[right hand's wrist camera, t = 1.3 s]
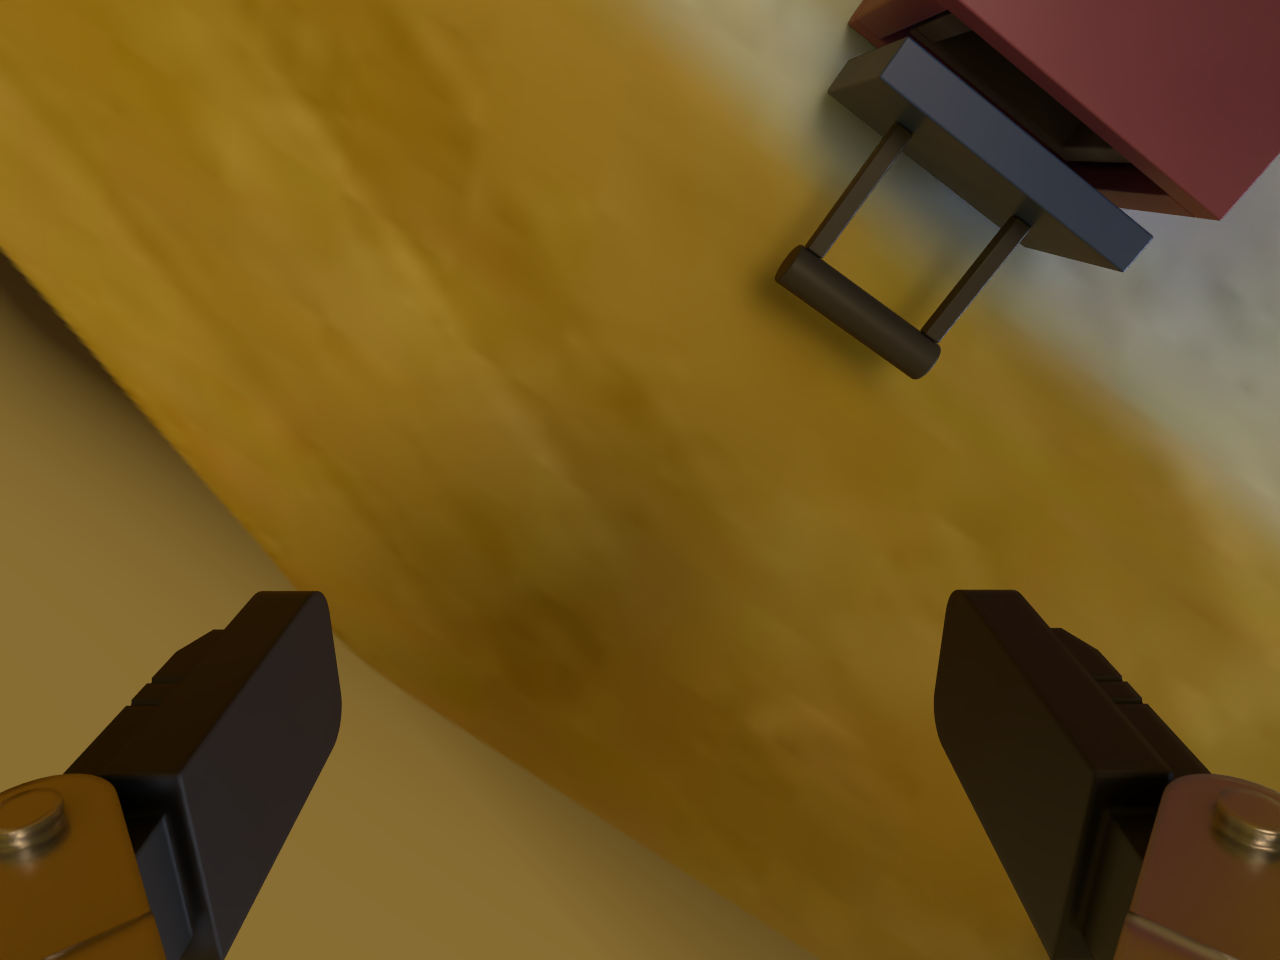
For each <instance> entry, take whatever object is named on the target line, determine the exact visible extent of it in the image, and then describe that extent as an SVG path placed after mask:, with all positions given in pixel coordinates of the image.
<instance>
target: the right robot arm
mask: <svg viewBox="0 0 1280 960" xmlns="http://www.w3.org/2000/svg"><path fill="white" fill-rule="evenodd" d="M341 709H342V701H341V691H340V684H339V676H338V669H337V662H336V655H335V648H334V641H333V634H332V627H331V620H330V613H329V608H328V604H327V601H326V598H325V596H324V595H323V594H322V593H321V592H319V591H260V592H258V593H256V594H255V595H254V596H253V597H252V598H251V599H250V600H249V602H248V603H247V604H246V605H245V606H244V607H243V609H242V610H241V611H240V612H239V613H238V614H237V615H236V617H235V618H234V619H233V620H232V621H231V622H230V624H229V625H228V626H227V627H226V628H225V629H224V630H212V631H210V632H209V633H207V634H205V635H204V636H202V637H200V638H199V639H197V640H195V641H194V642H192V643H190V644H189V645H187V646H185V647H184V648H182V649H180V650H179V651H177V652H176V653H175V654H174V655H173V656H172V657H171V658H170V659H169V660H168V661H167V662H166V663H165V665H164V666H163V667H162V668H161V669H160V670H159V671H158V672H157V673H156V674H155V675H154V676H153V677H152V683H147V684H146V685H145V686H144V687H143V688H142V689H141V690H140V692H139V693H138V694H137V695H136V696H135V697H134V698H133V699H132V703H131V706H126V707H125V708H124V709H123V710H122V711H121V712H120V713H119V714H118V715H117V716H116V717H115V718H114V720H113V721H112V722H111V723H110V724H109V725H108V726H107V727H106V728H105V729H104V730H103V731H102V733H101V734H100V735H99V736H98V737H97V738H96V739H95V740H94V741H93V742H92V743H91V744H90V745H89V747H88V748H87V749H86V750H85V751H84V752H83V753H82V754H81V755H80V756H79V757H78V758H77V759H76V761H75V762H74V763H73V764H72V765H71V766H70V767H69V768H68V769H67V770H66V771H65V773H64V774H62V775H55V776H49V777H45V778H40V779H36V780H33V781H30V782H26V783H23V784H20V785H18V786H15V787H13V788H10V789H8V790H5V791H3V792H1V793H0V960H224V959H225V957H226V955H227V953H228V951H229V949H230V947H231V945H232V943H233V941H234V939H235V938H236V936H237V934H238V932H239V930H240V928H241V926H242V924H243V922H244V920H245V918H246V916H247V914H248V912H249V910H250V908H251V906H252V904H253V903H254V901H255V899H256V897H257V895H258V893H259V891H260V889H261V887H262V885H263V883H264V881H265V879H266V877H267V875H268V873H269V871H270V870H271V868H272V866H273V864H274V862H275V860H276V858H277V856H278V854H279V852H280V850H281V848H282V846H283V844H284V842H285V840H286V838H287V836H288V835H289V833H290V831H291V829H292V827H293V825H294V823H295V821H296V819H297V817H298V815H299V813H300V811H301V809H302V807H303V805H304V803H305V801H306V800H307V798H308V796H309V794H310V792H311V790H312V788H313V786H314V784H315V782H316V780H317V778H318V776H319V774H320V772H321V770H322V768H323V767H324V764H325V763H326V761H327V759H328V757H329V755H330V753H331V751H332V749H333V747H334V745H335V742H336V739H337V736H338V732H339V727H340V721H341ZM934 715H935V723H936V728H937V733H938V736H939V739H940V742H941V744H942V747H943V749H944V750H945V752H946V754H947V756H948V758H949V760H950V762H951V764H952V766H953V768H954V770H955V772H956V774H957V776H958V778H959V780H960V782H961V784H962V786H963V788H964V790H965V792H966V794H967V796H968V798H969V800H970V802H971V804H972V806H973V808H974V810H975V811H976V813H977V815H978V817H979V819H980V821H981V823H982V825H983V827H984V829H985V831H986V833H987V835H988V837H989V839H990V841H991V843H992V845H993V847H994V849H995V851H996V853H997V855H998V857H999V859H1000V861H1001V863H1002V865H1003V867H1004V869H1005V870H1006V872H1007V874H1008V876H1009V878H1010V880H1011V882H1012V884H1013V886H1014V888H1015V890H1016V892H1017V894H1018V896H1019V898H1020V900H1021V902H1022V904H1023V906H1024V908H1025V910H1026V912H1027V914H1028V916H1029V918H1030V920H1031V922H1032V924H1033V926H1034V928H1035V930H1036V931H1037V933H1038V935H1039V937H1040V939H1041V941H1042V943H1043V945H1044V947H1045V949H1046V951H1047V953H1048V955H1049V957H1050V959H1051V960H1280V793H1279V792H1277V791H1275V790H1273V789H1270V788H1267V787H1265V786H1262V785H1260V784H1257V783H1254V782H1250V781H1247V780H1244V779H1240V778H1235V777H1231V776H1225V775H1218V774H1211V773H1210V772H1209V770H1208V769H1207V768H1206V767H1205V766H1204V765H1203V764H1202V763H1201V762H1200V761H1199V760H1198V758H1197V757H1196V756H1195V755H1194V754H1193V753H1192V752H1191V751H1190V750H1189V749H1188V748H1187V746H1186V745H1185V744H1184V743H1183V742H1182V741H1181V740H1180V739H1179V738H1178V737H1177V736H1176V735H1175V733H1174V732H1173V731H1172V730H1171V729H1170V728H1169V727H1168V726H1167V725H1166V724H1165V723H1164V721H1163V720H1162V719H1161V718H1160V717H1159V716H1158V715H1157V714H1156V713H1155V712H1154V711H1153V709H1152V708H1151V707H1150V706H1149V705H1148V704H1143V703H1142V697H1141V696H1140V695H1139V694H1138V693H1137V692H1136V691H1135V690H1134V689H1133V688H1132V687H1131V686H1130V684H1129V683H1128V682H1123V681H1122V676H1121V675H1120V674H1119V672H1118V671H1117V670H1116V669H1115V668H1114V667H1113V666H1112V665H1111V664H1110V663H1109V662H1108V660H1107V659H1106V658H1105V657H1104V656H1103V655H1102V654H1101V653H1100V652H1099V651H1098V650H1097V649H1095V648H1093V647H1092V646H1090V645H1089V644H1087V643H1085V642H1084V641H1082V640H1080V639H1079V638H1077V637H1075V636H1074V635H1072V634H1070V633H1069V632H1067V631H1065V630H1064V629H1062V628H1050V627H1049V626H1048V625H1047V624H1046V623H1045V621H1044V620H1043V619H1042V618H1041V617H1040V616H1039V614H1038V613H1037V612H1036V611H1035V610H1034V609H1033V607H1032V606H1031V605H1030V604H1029V603H1028V602H1027V601H1026V599H1025V598H1024V597H1023V596H1022V595H1021V594H1020V593H1019V592H1018V591H1016V590H955V591H954V592H953V593H952V594H951V595H950V598H949V600H948V603H947V608H946V614H945V621H944V628H943V636H942V643H941V650H940V657H939V664H938V671H937V678H936V685H935V693H934Z"/></svg>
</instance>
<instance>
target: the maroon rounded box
mask: <svg viewBox="0 0 1280 960" xmlns="http://www.w3.org/2000/svg"><path fill="white" fill-rule="evenodd" d="M947 9H948V10H949V11H950V12H951V13H952V14H954V15H955V16H956V17H957V18H958V19H960V20H961V21H962V22H963V23H964V24H966V25H967V26H968V27H969V28H970V29H972V30H973V31H974V32H975V33H976V34H978V35H979V36H980V37H981V38H982V39H984V40H985V41H986V42H987V43H988V44H990V45H991V46H992V47H993V48H994V49H995V50H997V51H998V52H999V53H1000V54H1001V55H1003V56H1004V57H1005V58H1006V59H1007V60H1009V61H1010V62H1011V63H1012V64H1013V65H1015V66H1016V67H1017V68H1018V69H1019V70H1021V71H1022V72H1023V73H1024V74H1025V75H1027V76H1028V77H1029V78H1030V79H1031V80H1033V81H1034V82H1035V83H1036V84H1037V85H1039V86H1040V87H1041V88H1042V89H1043V90H1045V91H1046V92H1047V93H1048V94H1049V95H1050V96H1052V97H1053V98H1054V99H1055V100H1056V101H1058V102H1059V103H1060V104H1061V105H1062V106H1064V107H1065V108H1066V109H1067V110H1068V111H1070V112H1071V113H1072V114H1073V115H1074V116H1076V117H1077V118H1078V119H1079V120H1080V121H1082V122H1083V123H1084V124H1085V125H1086V126H1088V127H1089V128H1090V129H1091V130H1092V131H1094V132H1095V133H1096V134H1097V135H1098V136H1099V137H1101V138H1102V139H1103V140H1104V141H1105V142H1107V143H1108V144H1109V145H1110V146H1111V147H1113V148H1114V149H1115V150H1116V151H1117V152H1119V153H1120V154H1121V155H1122V156H1123V157H1125V158H1126V159H1127V160H1128V161H1129V162H1131V163H1119V162H1089V161H1066V160H1064V159H1063V158H1062V157H1061V156H1060V155H1058V154H1057V153H1056V152H1055V151H1053V150H1052V149H1051V148H1050V147H1049V146H1047V145H1046V144H1045V143H1044V142H1042V141H1041V140H1040V139H1039V138H1038V137H1036V136H1035V135H1034V134H1033V133H1031V132H1030V131H1029V130H1028V129H1027V128H1025V127H1024V126H1023V125H1022V124H1020V123H1019V122H1018V121H1017V120H1016V119H1014V118H1013V117H1012V116H1011V115H1010V114H1008V113H1007V112H1006V111H1005V110H1003V109H1002V108H1001V107H1000V106H999V105H997V104H996V103H995V102H994V101H992V100H991V99H990V98H989V97H988V96H986V95H985V94H984V93H983V92H981V91H980V90H979V89H978V88H977V87H975V86H974V85H973V84H972V83H970V82H969V81H968V80H967V79H966V78H964V77H963V76H962V75H961V74H959V73H958V72H957V71H956V70H955V69H953V68H952V67H951V66H950V65H949V64H947V63H946V62H945V61H944V60H942V59H941V58H940V57H939V56H938V55H936V54H935V53H934V52H933V51H931V50H930V49H929V48H928V47H927V46H925V45H924V44H923V43H922V42H920V41H919V40H918V39H917V38H916V37H914V36H913V35H912V34H911V33H910V32H909V30H910V28H911V27H912V25H914V24H916V23H918V22H920V21H923V20H925V19H927V18H930V17H932V16H934V15H936V14H939V13H941V12H943V11H946V10H947ZM849 25H850V26H851V27H852V28H854V29H855V30H856V31H857V32H859V33H860V34H861V35H862V36H864V37H865V38H866V39H867V40H869V41H870V42H871V43H872V44H874V45H875V46H876V47H877V48H881V47H883V46H886V45H888V44H890V43H893V42H895V41H898V40H900V39H903V38H905V37H910V38H912V39H913V40H914V41H915V42H916V43H918V44H919V45H920V46H921V47H923V48H924V49H925V50H926V51H927V52H929V53H930V54H931V55H932V56H934V57H935V58H936V59H937V60H938V61H940V62H941V63H942V64H943V65H945V66H946V67H947V68H948V69H949V70H951V71H952V72H953V73H954V74H956V75H957V76H958V77H959V78H960V79H962V80H963V81H964V82H965V83H967V84H968V85H969V86H970V87H971V88H973V89H974V90H975V91H976V92H978V93H979V94H980V95H981V96H982V97H984V98H985V99H986V100H987V101H989V102H990V103H991V104H992V105H993V106H995V107H996V108H997V109H998V110H1000V111H1001V112H1002V113H1003V114H1004V115H1006V116H1007V117H1008V118H1009V119H1011V120H1012V121H1013V122H1014V123H1015V124H1017V125H1018V126H1019V127H1020V128H1022V129H1023V130H1024V131H1025V132H1026V133H1028V134H1029V135H1030V136H1031V137H1033V138H1034V139H1035V140H1036V141H1037V142H1039V143H1040V144H1041V145H1042V146H1044V147H1045V148H1046V149H1047V150H1048V151H1050V152H1051V153H1052V154H1053V155H1055V156H1056V157H1057V158H1058V159H1059V160H1061V161H1062V162H1063V163H1064V164H1066V165H1067V166H1068V167H1069V168H1070V169H1072V170H1073V171H1074V172H1075V173H1077V174H1078V175H1079V176H1080V177H1081V178H1083V179H1084V180H1085V181H1086V182H1088V183H1089V184H1090V185H1091V186H1092V187H1094V188H1095V189H1096V190H1097V191H1099V192H1100V193H1101V194H1102V195H1103V196H1105V197H1106V198H1107V199H1108V200H1110V201H1111V202H1112V203H1113V204H1114V205H1116V206H1117V207H1118V208H1125V209H1133V210H1141V211H1149V212H1156V213H1164V214H1172V215H1180V216H1188V217H1197V218H1203V219H1211V220H1219V221H1220V220H1222V219H1223V218H1224V216H1225V215H1226V214H1227V213H1228V212H1229V211H1230V210H1231V208H1232V207H1233V206H1234V205H1235V204H1236V203H1237V202H1238V200H1239V199H1240V198H1241V197H1242V196H1243V195H1244V194H1245V193H1246V191H1247V190H1248V189H1249V188H1250V187H1251V186H1252V185H1253V183H1254V182H1255V181H1256V180H1257V179H1258V178H1259V177H1260V175H1261V174H1262V173H1263V172H1264V171H1265V170H1266V169H1267V167H1268V166H1269V165H1270V164H1271V163H1272V162H1273V161H1274V159H1275V158H1276V157H1277V156H1278V155H1279V154H1280V0H863V1H862V3H861V4H860V5H859V7H858V8H857V10H856V11H855V13H854V14H853V16H852V17H851V19H850V20H849Z"/></svg>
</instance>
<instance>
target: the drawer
mask: <svg viewBox="0 0 1280 960" xmlns="http://www.w3.org/2000/svg"><path fill="white" fill-rule="evenodd" d="M909 32H910V33H911V34H912V35H913V36H914V37H916V38H917V39H918V40H919V41H920V42H922V43H923V44H924V45H925V46H927V47H928V48H929V49H930V50H931V51H933V52H934V53H935V54H936V55H938V56H939V57H940V58H941V59H942V60H944V61H945V62H946V63H947V64H949V65H950V66H951V67H952V68H953V69H955V70H956V71H957V72H958V73H959V74H961V75H962V76H963V77H964V78H966V79H967V80H968V81H969V82H970V83H972V84H973V85H974V86H975V87H977V88H978V89H979V90H980V91H981V92H983V93H984V94H985V95H986V96H988V97H989V98H990V99H991V100H992V101H994V102H995V103H996V104H997V105H999V106H1000V107H1001V108H1002V109H1003V110H1005V111H1006V112H1007V113H1008V114H1010V115H1011V116H1012V117H1013V118H1014V119H1016V120H1017V121H1018V122H1019V123H1020V124H1022V125H1023V126H1024V127H1025V128H1027V129H1028V130H1029V131H1030V132H1031V133H1033V134H1034V135H1035V136H1036V137H1038V138H1039V139H1040V140H1041V141H1042V142H1044V143H1045V144H1046V145H1047V146H1049V147H1050V148H1051V149H1052V150H1053V151H1055V152H1056V153H1057V154H1058V155H1060V156H1061V157H1062V158H1063V159H1064V160H1066V161H1089V162H1119V163H1131V162H1129V161H1128V160H1127V159H1126V158H1125V157H1123V156H1122V155H1121V154H1120V153H1119V152H1117V151H1116V150H1115V149H1114V148H1113V147H1111V146H1110V145H1109V144H1108V143H1107V142H1105V141H1104V140H1103V139H1102V138H1101V137H1099V136H1098V135H1097V134H1096V133H1095V132H1094V131H1092V130H1091V129H1090V128H1089V127H1088V126H1086V125H1085V124H1084V123H1083V122H1082V121H1080V120H1079V119H1078V118H1077V117H1076V116H1074V115H1073V114H1072V113H1071V112H1070V111H1068V110H1067V109H1066V108H1065V107H1064V106H1062V105H1061V104H1060V103H1059V102H1058V101H1056V100H1055V99H1054V98H1053V97H1052V96H1050V95H1049V94H1048V93H1047V92H1046V91H1045V90H1043V89H1042V88H1041V87H1040V86H1039V85H1037V84H1036V83H1035V82H1034V81H1033V80H1031V79H1030V78H1029V77H1028V76H1027V75H1025V74H1024V73H1023V72H1022V71H1021V70H1019V69H1018V68H1017V67H1016V66H1015V65H1013V64H1012V63H1011V62H1010V61H1009V60H1007V59H1006V58H1005V57H1004V56H1003V55H1001V54H1000V53H999V52H998V51H997V50H995V49H994V48H993V47H992V46H991V45H990V44H988V43H987V42H986V41H985V40H984V39H982V38H981V37H980V36H979V35H978V34H976V33H975V32H974V31H973V30H972V29H970V28H969V27H968V26H967V25H966V24H964V23H963V22H962V21H961V20H960V19H958V18H957V17H956V16H955V15H954V14H952V13H951V12H950V11H949V10H948V9H947V10H946V11H943V12H941V13H939V14H936V15H934V16H932V17H930V18H927V19H925V20H923V21H920V22H918V23H916V24H914V25H912V27H911V28H910V30H909ZM828 94H830V95H831V96H832V97H833V98H835V99H836V100H837V101H839V102H840V103H841V104H842V105H844V106H845V107H846V108H848V109H849V110H850V111H851V112H853V113H854V114H855V115H857V116H858V117H859V118H860V119H862V120H863V121H864V122H865V123H867V124H868V125H869V126H871V127H872V128H873V129H874V130H876V131H877V132H878V133H880V134H881V135H882V136H883V139H882V140H881V141H880V143H879V144H878V146H877V147H876V148H875V150H874V151H873V152H872V154H871V155H870V157H869V158H868V159H867V161H866V162H865V164H864V165H863V166H862V168H861V169H860V170H859V172H858V173H857V175H856V176H855V177H854V179H853V180H852V182H851V183H850V184H849V186H848V187H847V188H846V190H845V191H844V193H843V194H842V195H841V197H840V198H839V200H838V201H837V202H836V204H835V205H834V206H833V208H832V209H831V211H830V212H829V213H828V215H827V216H826V218H825V219H824V220H823V222H822V223H821V224H820V226H819V227H818V229H817V230H816V231H815V233H814V234H813V236H812V237H811V238H810V240H809V241H808V242H807V244H806V246H805V247H806V248H805V247H804V246H803V245H798V246H797V247H795V248H794V249H793V250H792V251H791V252H790V253H789V255H788V256H787V257H786V258H785V260H784V261H783V263H782V264H781V266H780V267H779V269H778V271H777V273H776V276H775V280H776V282H777V283H779V284H780V285H782V286H783V287H784V288H786V289H787V290H789V291H790V292H791V293H793V294H794V295H796V296H797V297H798V298H800V299H801V300H803V301H804V302H805V303H807V304H808V305H810V306H811V307H812V308H814V309H815V310H817V311H818V312H819V313H821V314H822V315H824V316H825V317H826V318H828V319H829V320H831V321H832V322H833V323H835V324H836V325H838V326H839V327H840V328H842V329H843V330H845V331H846V332H847V333H849V334H850V335H852V336H853V337H854V338H856V339H857V340H859V341H860V342H861V343H863V344H864V345H866V346H867V347H868V348H870V349H871V350H873V351H874V352H875V353H877V354H878V355H880V356H881V357H882V358H884V359H885V360H887V361H888V362H889V363H891V364H892V365H894V366H895V367H896V368H898V369H899V370H901V371H902V372H903V373H905V374H906V375H908V376H909V377H910V378H912V379H919V378H921V377H922V376H924V375H925V374H926V373H927V372H929V370H930V369H931V368H932V367H933V366H934V364H935V363H936V361H937V360H938V358H939V355H940V352H941V348H940V346H939V345H938V344H937V343H939V342H940V341H941V339H942V338H943V337H944V336H945V335H946V333H947V332H948V331H949V330H950V328H951V327H952V326H953V325H954V323H955V322H956V321H957V320H958V318H959V317H960V316H961V315H962V313H963V312H964V311H965V310H966V308H967V307H968V306H969V305H970V304H971V302H972V301H973V300H974V299H975V297H976V296H977V295H978V294H979V292H980V291H981V290H982V289H983V287H984V286H985V285H986V284H987V282H988V281H989V280H990V279H991V277H992V276H993V275H994V274H995V273H996V271H997V270H998V269H999V268H1000V266H1001V265H1002V264H1003V263H1004V261H1005V260H1006V259H1007V258H1008V256H1009V255H1010V254H1011V253H1012V251H1013V250H1014V249H1015V248H1016V246H1017V245H1018V244H1019V243H1020V244H1022V245H1023V246H1024V247H1027V248H1031V249H1035V250H1039V251H1043V252H1046V253H1050V254H1054V255H1058V256H1062V257H1066V258H1070V259H1074V260H1077V261H1081V262H1085V263H1089V264H1093V265H1097V266H1101V267H1105V268H1108V269H1112V270H1116V271H1120V272H1124V271H1125V270H1126V269H1127V268H1128V267H1129V266H1130V265H1131V263H1132V262H1133V261H1134V260H1135V259H1136V258H1137V256H1138V255H1139V254H1140V253H1141V252H1142V251H1143V249H1144V248H1145V247H1146V246H1147V245H1148V244H1149V242H1150V241H1151V240H1152V239H1153V236H1152V235H1151V234H1150V233H1149V232H1147V231H1146V230H1145V229H1144V228H1143V227H1141V226H1140V225H1139V224H1138V223H1136V222H1135V221H1134V220H1133V219H1132V218H1130V217H1129V216H1128V215H1127V214H1125V213H1124V212H1123V211H1122V210H1121V209H1119V208H1118V207H1117V206H1116V205H1114V204H1113V203H1112V202H1111V201H1110V200H1108V199H1107V198H1106V197H1105V196H1103V195H1102V194H1101V193H1100V192H1099V191H1097V190H1096V189H1095V188H1094V187H1092V186H1091V185H1090V184H1089V183H1088V182H1086V181H1085V180H1084V179H1083V178H1081V177H1080V176H1079V175H1078V174H1077V173H1075V172H1074V171H1073V170H1072V169H1070V168H1069V167H1068V166H1067V165H1066V164H1064V163H1063V162H1062V161H1061V160H1059V159H1058V158H1057V157H1056V156H1055V155H1053V154H1052V153H1051V152H1050V151H1048V150H1047V149H1046V148H1045V147H1044V146H1042V145H1041V144H1040V143H1039V142H1037V141H1036V140H1035V139H1034V138H1033V137H1031V136H1030V135H1029V134H1028V133H1026V132H1025V131H1024V130H1023V129H1022V128H1020V127H1019V126H1018V125H1017V124H1015V123H1014V122H1013V121H1012V120H1011V119H1009V118H1008V117H1007V116H1006V115H1004V114H1003V113H1002V112H1001V111H1000V110H998V109H997V108H996V107H995V106H993V105H992V104H991V103H990V102H989V101H987V100H986V99H985V98H984V97H982V96H981V95H980V94H979V93H978V92H976V91H975V90H974V89H973V88H971V87H970V86H969V85H968V84H967V83H965V82H964V81H963V80H962V79H960V78H959V77H958V76H957V75H956V74H954V73H953V72H952V71H951V70H949V69H948V68H947V67H946V66H945V65H943V64H942V63H941V62H940V61H938V60H937V59H936V58H935V57H934V56H932V55H931V54H930V53H929V52H927V51H926V50H925V49H924V48H923V47H921V46H920V45H919V44H918V43H916V42H915V41H914V40H913V39H912V38H910V37H905V38H903V39H900V40H898V41H895V42H893V43H890V44H888V45H886V46H883V47H881V48H878V49H876V50H873V51H871V52H868V53H866V54H863V55H861V56H858V57H856V58H853V59H851V60H849V61H848V62H847V63H846V65H845V66H844V68H843V69H842V71H841V72H840V73H839V75H838V76H837V78H836V79H835V81H834V82H833V84H832V85H831V87H830V88H829V89H828ZM901 151H903V152H904V153H905V154H906V155H908V156H909V157H910V158H912V159H913V160H914V161H915V162H917V163H918V164H919V165H920V166H922V167H923V168H924V169H926V170H927V171H928V172H929V173H931V174H932V175H933V176H935V177H936V178H937V179H938V180H940V181H941V182H942V183H944V184H945V185H946V186H947V187H949V188H950V189H951V190H952V191H954V192H955V193H956V194H958V195H959V196H960V197H961V198H963V199H964V200H965V201H967V202H968V203H969V204H970V205H972V206H973V207H974V208H975V209H977V210H978V211H979V212H981V213H982V214H983V215H984V216H986V217H987V218H988V219H990V220H991V221H992V222H993V223H995V224H996V225H997V226H999V227H1000V228H1001V229H1000V230H999V232H998V233H997V234H996V235H995V237H994V238H993V239H992V240H991V242H990V243H989V244H988V246H987V247H986V248H985V249H984V251H983V252H982V253H981V254H980V256H979V257H978V258H977V259H976V261H975V262H974V263H973V264H972V266H971V267H970V268H969V269H968V271H967V272H966V273H965V274H964V276H963V277H962V278H961V279H960V281H959V282H958V283H957V285H956V286H955V287H954V288H953V290H952V291H951V292H950V293H949V295H948V296H947V297H946V298H945V300H944V301H943V302H942V303H941V305H940V306H939V307H938V308H937V310H936V311H935V312H934V313H933V315H932V316H931V317H930V319H929V320H928V321H927V322H926V324H925V325H924V326H923V327H922V329H921V332H920V331H919V330H918V329H916V328H915V327H913V326H912V325H911V324H909V323H908V322H907V321H905V320H904V319H903V318H901V317H900V316H898V315H897V314H896V313H894V312H893V311H892V310H890V309H889V308H887V307H886V306H885V305H883V304H882V303H881V302H879V301H878V300H877V299H875V298H874V297H872V296H871V295H870V294H868V293H867V292H866V291H864V290H863V289H861V288H860V287H859V286H857V285H856V284H855V283H853V282H852V281H851V280H849V279H848V278H846V277H845V276H844V275H842V274H841V273H840V272H838V271H837V270H835V269H834V268H833V267H831V266H830V265H829V264H827V263H826V262H825V261H823V260H822V259H820V258H823V257H824V256H825V255H826V253H827V252H828V251H829V249H830V248H831V246H832V245H833V244H834V242H835V241H836V240H837V238H838V237H839V236H840V234H841V233H842V231H843V230H844V229H845V227H846V226H847V225H848V223H849V222H850V221H851V219H852V218H853V216H854V215H855V214H856V212H857V211H858V210H859V208H860V207H861V206H862V204H863V203H864V201H865V200H866V199H867V197H868V196H869V195H870V193H871V192H872V190H873V189H874V188H875V186H876V185H877V184H878V182H879V181H880V180H881V178H882V177H883V175H884V174H885V173H886V171H887V170H888V169H889V167H890V166H891V165H892V163H893V162H894V160H895V159H896V158H897V156H898V155H899V154H900V152H901ZM935 342H936V343H935Z"/></svg>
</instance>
